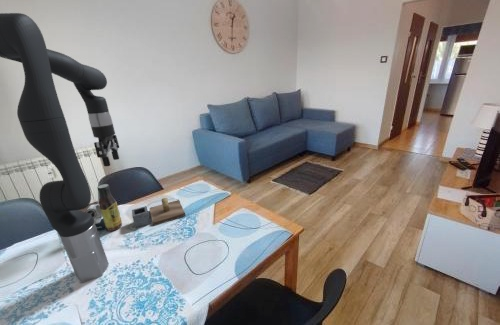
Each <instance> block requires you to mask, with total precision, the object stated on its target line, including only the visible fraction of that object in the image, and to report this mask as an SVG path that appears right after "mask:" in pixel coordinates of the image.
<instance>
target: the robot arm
mask: <svg viewBox="0 0 500 325" xmlns="http://www.w3.org/2000/svg"><path fill="white" fill-rule="evenodd" d="M0 58H3V59H6V60H10V61H13V62H18V63H21V64H22V69H23V72H24V84H23V85H24V86H23V88H22V91H21V94H20V98H19V102H18V103H17V112H16V113H17V118H18V122H19V124H20V127H21V129H22V130H21V131H22V132H23V135H24V137H25V139H26V140H27V142H28V143H29V144H30V145H31V146H32V147H33V148H34V149H35V150H36V151H37V152H39V153H40V154H41V155H42V156H44V158H46V159H47V160H48V161H49V162H51V164H53V166H54V167H55V168H56V169H57V171H58V172H59V174H60V176H61V178H62V179H60V180H53V181H47V182H46V183H44V184H43V185H42V186H41V188H40V190H39V202H40V206H41V208H42V210H43V212H44V213H45V216H46V217H47V220H48V221H49V223H50V225H51V227H52V229H53V230H55V231H56V232H57V234H58V236H59V238H60V240H61V242H62V245H63V248H64V251H65V252H66V255H67V257H68V260H69V262H70V265H71V267H72V269H73V271H74V273H75V276H76V278H77V280H79V283H80V284H83V283H85V282H88V281H91V280H93V279H97V278H99V277H102V276H103V275H104V273H105V271H106V270H107V269H108V267H109V260H108V258H107V254H106V252H105V249H104V246H103V244H102V240H101V238H100V235H99V232H98V231H97V228H96V226H95V223H94V220H93V217H92V215H91V214H89V213H87V212H85V211H82V210H84V209H86V208H87V207H89V206H90V204H91V200H92V192H91V187H90V186H89V182H88V180H87V178H86V175H85V173H84V171H83V168H82V166H81V163H80V161H79V159H78V156H77V152H76V149H75V148H74V144H73V141H72V138H71V134H70V130H69V127H68V124H67V121H66V117H65V114H64V111H63V109H62V105H61V103H60V100H59V96H58V93H57V90H56V85H55V82H54V78H53V75H56V76H58V77H60V78H62V79H64V80H67V81H69V82H71V83H73V85H74V87H75V89H76V90H77V92H78V94H79V95H80V97H81V99H82V101H83V102H84V104H85V107H86V112H87V115H88V121H89V124H90V127H91V128H90V129H91V132H92V136H93V138H97V139H98V141H96V142H94V143H93V145H94V148H95V153H96V157H97V158H101V160H102V163H103V166H104V167H110V166H111V162H110V158H109V153H110V151H111V155H112V160H114V161H115V160H119V159H120V156H119V152H118V151H119V149H120V145H119V140H118V138H117V135H116V131H115V127H114V122H113V119H112V116H111V113H110V111H109V107H108V103H107V99H106V98H105V97H104V96H98V95H95V94H94V93H93V92H92V91H98V90H99V91H100V90H103V89H105V88H106V87H107V84H108V82H107V77H106V75H105V74H104V73H103V72H102V71H101V70H99V69H97V68H95V67H92V66H89V65H87V64H84V63H83V64H82V63H80V62H79V61H78V60H76V59H74V58H72V56H69V55H66V54H65V53H62V52H59V51H56V50H52V49H49V48H47V46H46V41H45V39H44V36H43V33H42V31H41V29H40V27H39V26H38V24H37V22H35V21H34V19H33V18H31V17H30V16H28V15H27V14H25V13H21V12H20V13H19V12H8V13H7V12H5V13H3V12H1V13H0Z"/></svg>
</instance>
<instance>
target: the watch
mask: <svg viewBox="0 0 500 325" xmlns="http://www.w3.org/2000/svg"><path fill="white" fill-rule="evenodd" d="M84 212H87V213H89V214H91V215H92V217H93V220H94V223H95V226H96V228H97V231H99V232H100V231H105V230H106V229H107V228H106V226H105V223H104V220H103V216H102V213H101V209H100V205H99V204H98V203H97V204H91V205H88V208H87V209H86V211H84Z"/></svg>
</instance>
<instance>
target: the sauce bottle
mask: <svg viewBox="0 0 500 325" xmlns="http://www.w3.org/2000/svg"><path fill="white" fill-rule="evenodd" d="M97 191H98V193H99V197H100V198H99V201H98V203H99V205H100V209H101V213H102V219H103V220H104V223H105V226H106V228H105V229H106V230H107V231H109V232H113V231H116V230H118V229H120V228H121V227H122V225H123V223H122V222H123V221H122V217H121V214H120V209H119V206H118V203H117V200H116V199H115V197H114V196H113V195H112V193H111V189H110V185H109V184H107V183H104V184H101V185H98V186H97Z"/></svg>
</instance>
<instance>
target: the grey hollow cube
mask: <svg viewBox="0 0 500 325" xmlns="http://www.w3.org/2000/svg"><path fill="white" fill-rule="evenodd" d="M148 211H149V210H148V206H147V205H145V206H142V207H141V206H140V207H137V208H134V209H131V216H132V221H133V224H134V227H135V229H138V228H141V227H145V226H148V225H151V221H150V215H149V212H148Z"/></svg>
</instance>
